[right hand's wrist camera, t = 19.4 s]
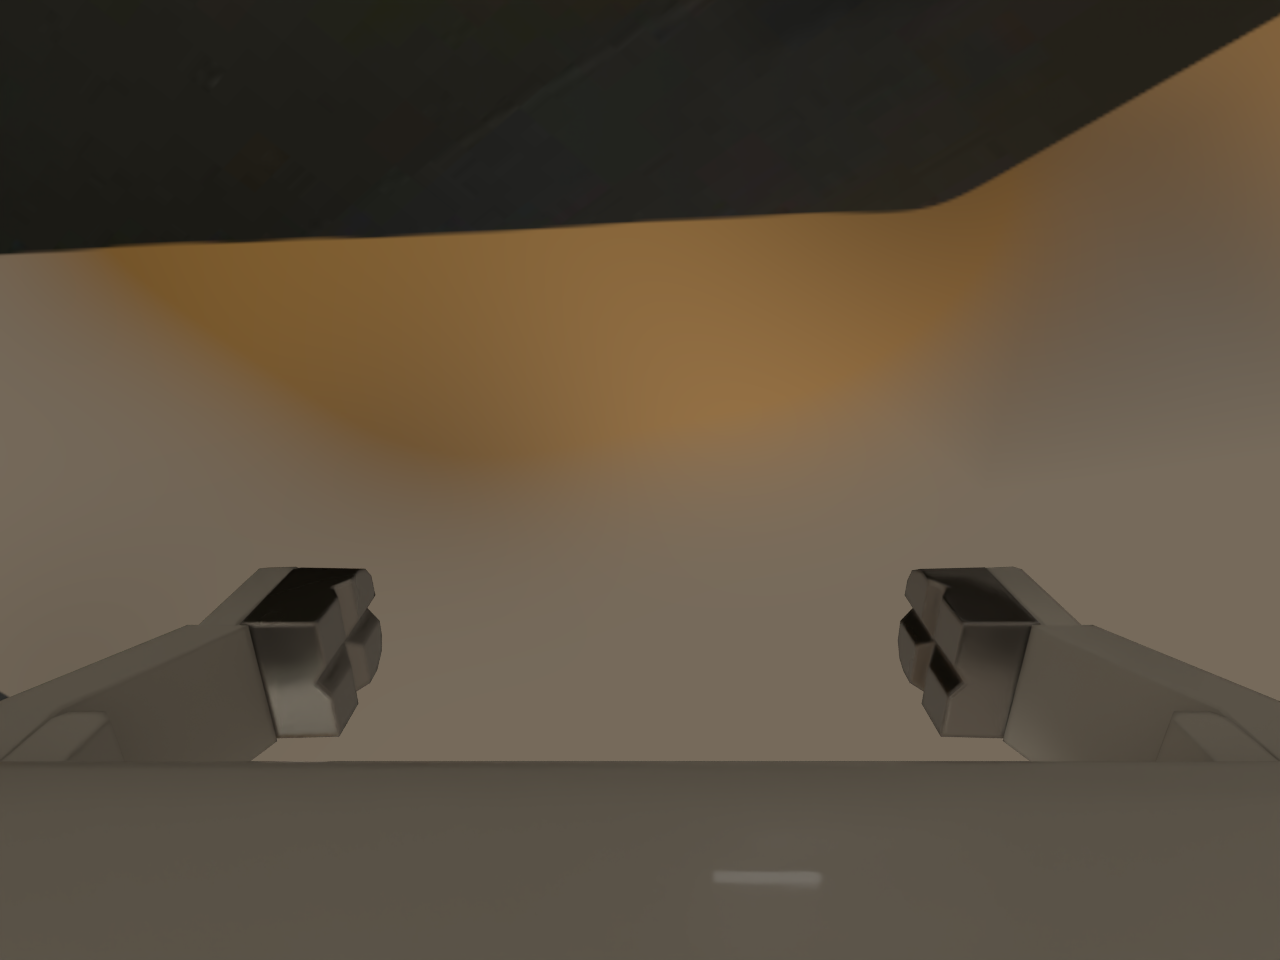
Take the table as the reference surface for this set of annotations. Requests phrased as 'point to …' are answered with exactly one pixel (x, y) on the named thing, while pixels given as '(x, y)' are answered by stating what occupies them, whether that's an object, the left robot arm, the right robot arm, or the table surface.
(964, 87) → the table surface
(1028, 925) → the right robot arm
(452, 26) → the table surface
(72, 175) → the table surface
